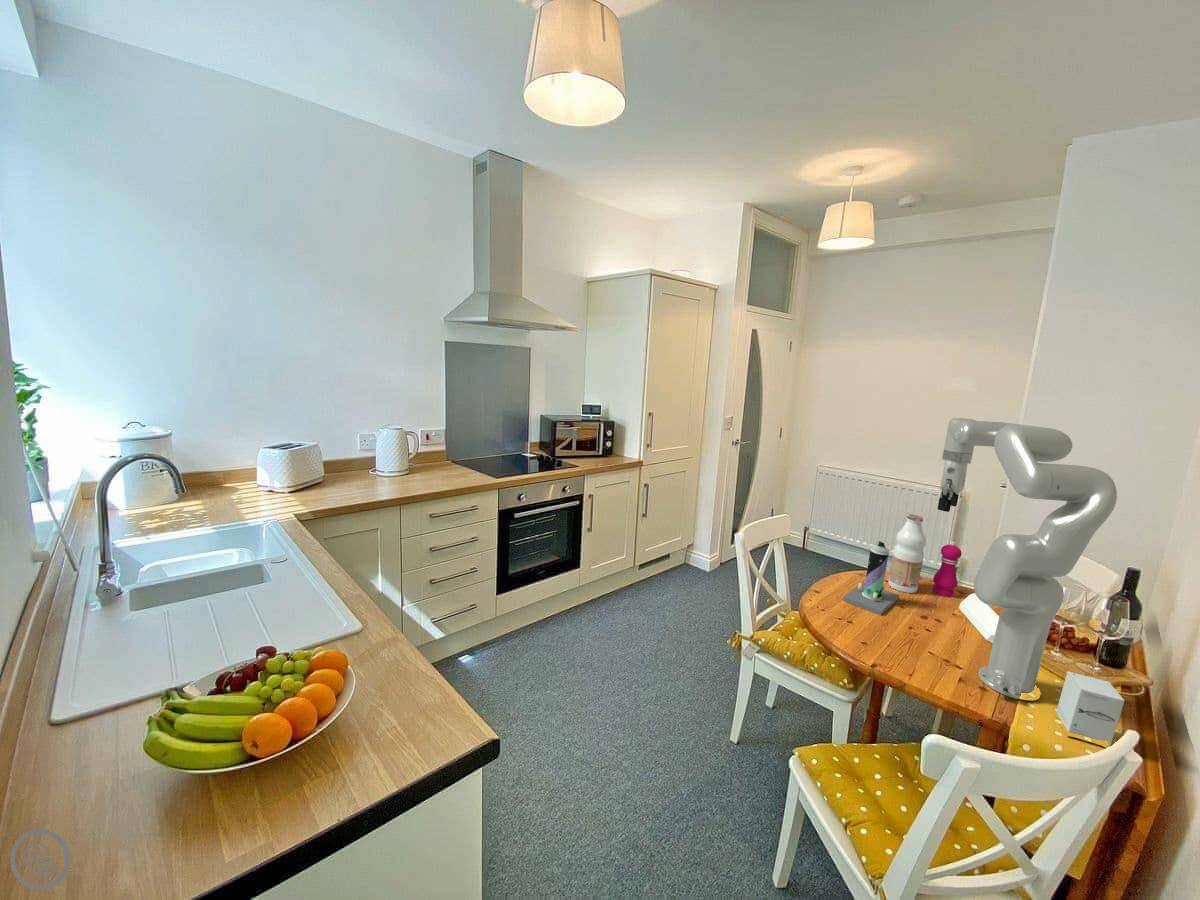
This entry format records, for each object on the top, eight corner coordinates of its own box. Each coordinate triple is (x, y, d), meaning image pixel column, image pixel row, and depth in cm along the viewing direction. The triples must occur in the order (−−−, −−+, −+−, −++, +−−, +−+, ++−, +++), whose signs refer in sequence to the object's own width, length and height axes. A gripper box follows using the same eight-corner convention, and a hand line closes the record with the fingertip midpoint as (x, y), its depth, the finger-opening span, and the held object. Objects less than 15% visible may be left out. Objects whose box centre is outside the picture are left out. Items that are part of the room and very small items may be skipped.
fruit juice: (887, 588, 175) (900, 516, 169) (887, 579, 183) (899, 510, 177) (917, 596, 170) (931, 522, 164) (916, 586, 178) (930, 515, 172)
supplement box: (1066, 737, 107) (1079, 688, 104) (1053, 716, 113) (1066, 669, 111) (1110, 751, 103) (1126, 700, 101) (1095, 728, 110) (1109, 680, 107)
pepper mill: (959, 598, 169) (970, 546, 165) (936, 596, 171) (947, 544, 167) (948, 589, 176) (959, 539, 172) (927, 586, 178) (937, 536, 174)
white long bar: (951, 595, 164) (985, 633, 141) (974, 589, 161) (1012, 626, 139) (960, 614, 164) (995, 655, 141) (983, 608, 162) (1022, 648, 139)
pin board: (880, 615, 156) (882, 602, 155) (842, 600, 164) (844, 588, 163) (898, 598, 168) (900, 586, 167) (862, 585, 176) (864, 574, 175)
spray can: (859, 593, 167) (868, 540, 163) (869, 590, 169) (879, 538, 165) (874, 600, 162) (883, 546, 158) (884, 598, 164) (894, 543, 160)
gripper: (965, 462, 143) (954, 516, 146) (976, 456, 154) (966, 506, 158) (936, 457, 148) (926, 509, 151) (949, 452, 160) (939, 500, 163)
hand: (947, 507), depth 155 cm, fingers open, 9 cm apart
